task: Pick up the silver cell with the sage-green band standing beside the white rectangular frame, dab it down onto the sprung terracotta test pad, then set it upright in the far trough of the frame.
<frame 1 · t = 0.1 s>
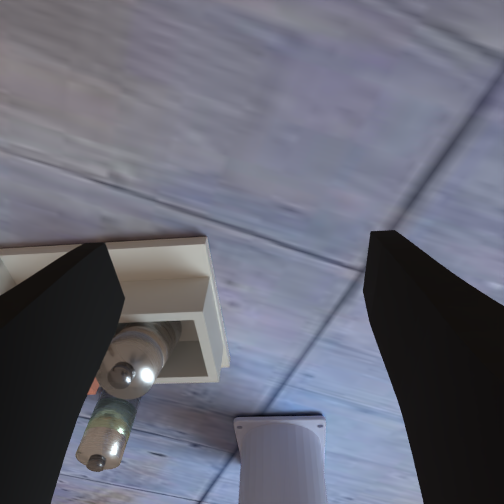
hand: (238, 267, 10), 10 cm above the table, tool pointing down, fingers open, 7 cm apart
test pad: (64, 354, 22), point 4 cm above the table, slide at 0.0 cm
cell a: (122, 392, 31), on the table
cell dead: (158, 327, 24), point 1 cm above the table, tilted 22°
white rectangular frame: (89, 310, 25), on the table
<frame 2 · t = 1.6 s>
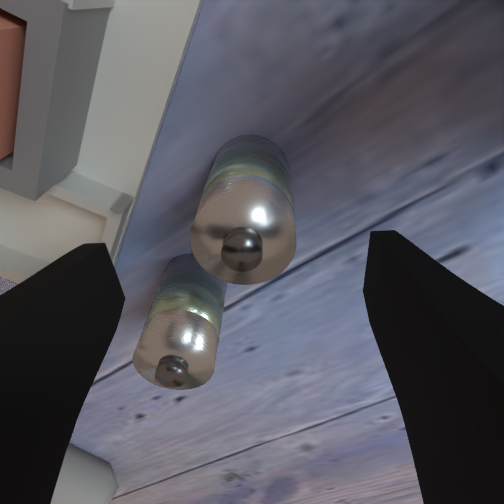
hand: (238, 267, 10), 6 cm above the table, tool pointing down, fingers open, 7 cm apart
cell a: (250, 172, 15), on the table
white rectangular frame: (17, 48, 13), on the table
cell b: (196, 278, 19), on the table
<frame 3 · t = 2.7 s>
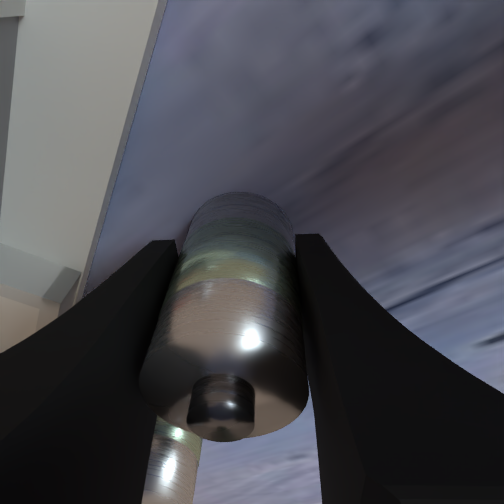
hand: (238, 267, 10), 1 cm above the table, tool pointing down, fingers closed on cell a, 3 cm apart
cell a: (241, 239, 11), on the table, touching gripper
cell b: (173, 359, 15), on the table
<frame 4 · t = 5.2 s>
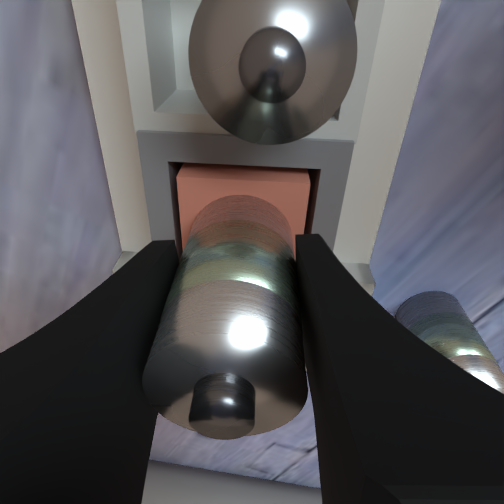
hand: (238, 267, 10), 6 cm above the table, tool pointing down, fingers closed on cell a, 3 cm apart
test pad: (244, 213, 13), point 3 cm above the table, slide at -0.9 cm, touching cell a
cell a: (241, 240, 12), point 4 cm above the table, touching gripper, test pad
tube: (230, 474, 31), on the table
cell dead: (270, 34, 11), point 1 cm above the table, touching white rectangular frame
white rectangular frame: (248, 179, 15), on the table
cell b: (427, 314, 19), on the table
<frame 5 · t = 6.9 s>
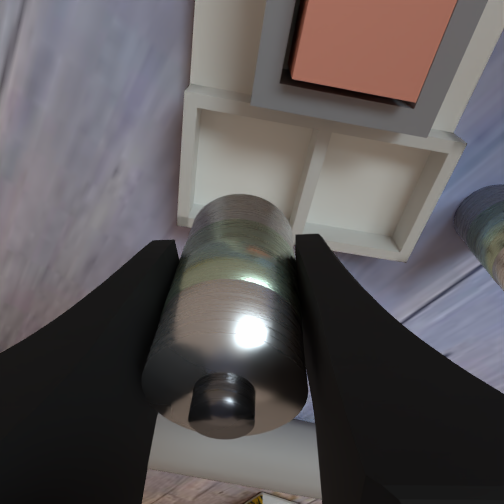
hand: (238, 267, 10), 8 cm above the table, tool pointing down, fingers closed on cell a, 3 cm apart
test pad: (365, 13, 11), point 3 cm above the table, slide at -0.6 cm
cell a: (241, 240, 12), point 7 cm above the table, touching gripper
tube: (229, 408, 29), on the table
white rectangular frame: (347, 10, 14), on the table
cell b: (487, 214, 18), on the table
when the fingers open (3 cm above the table, at t = 8.1 s): cell a stays where it is, resting on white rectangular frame.
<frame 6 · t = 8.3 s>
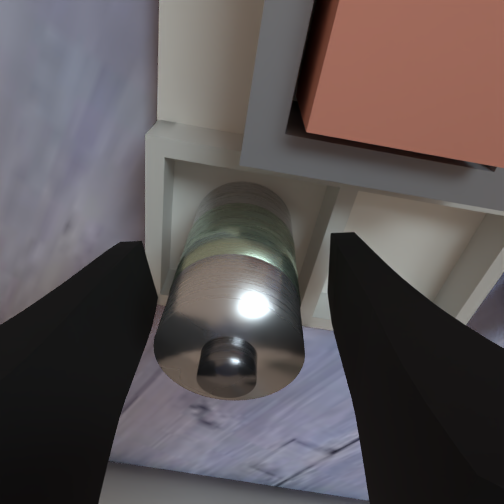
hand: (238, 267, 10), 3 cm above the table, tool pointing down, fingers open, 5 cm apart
test pad: (424, 25, 7), point 3 cm above the table, slide at -0.6 cm
cell a: (243, 226, 12), point 1 cm above the table, touching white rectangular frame
tube: (221, 479, 25), on the table
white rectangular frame: (381, 17, 9), on the table
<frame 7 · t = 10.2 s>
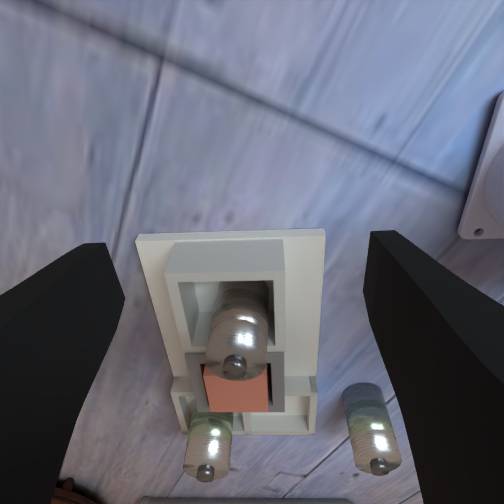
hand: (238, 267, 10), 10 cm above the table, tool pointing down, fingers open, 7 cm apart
test pad: (238, 374, 24), point 3 cm above the table, slide at -0.6 cm
cell a: (215, 399, 30), point 1 cm above the table, touching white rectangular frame
tube: (251, 498, 43), on the table
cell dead: (243, 291, 23), point 1 cm above the table, touching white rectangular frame
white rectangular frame: (241, 338, 27), on the table
wooden thread spool stand: (52, 495, 44), on the table
cell b: (362, 394, 30), on the table
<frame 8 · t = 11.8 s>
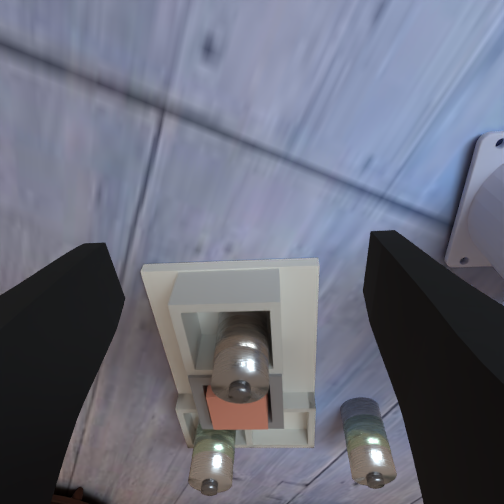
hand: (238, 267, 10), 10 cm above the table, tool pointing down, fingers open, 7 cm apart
test pad: (239, 393, 26), point 3 cm above the table, slide at -0.6 cm
cell a: (218, 414, 31), point 1 cm above the table, touching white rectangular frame
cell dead: (243, 316, 25), point 1 cm above the table, touching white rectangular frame
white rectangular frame: (242, 357, 28), on the table
cell b: (359, 408, 32), on the table
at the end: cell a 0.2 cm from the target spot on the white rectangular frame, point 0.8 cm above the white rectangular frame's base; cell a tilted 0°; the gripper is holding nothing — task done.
